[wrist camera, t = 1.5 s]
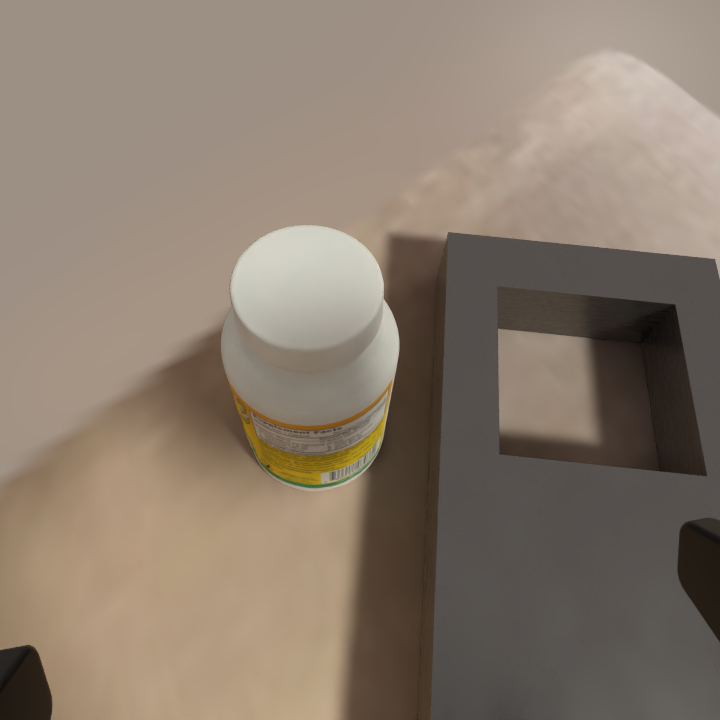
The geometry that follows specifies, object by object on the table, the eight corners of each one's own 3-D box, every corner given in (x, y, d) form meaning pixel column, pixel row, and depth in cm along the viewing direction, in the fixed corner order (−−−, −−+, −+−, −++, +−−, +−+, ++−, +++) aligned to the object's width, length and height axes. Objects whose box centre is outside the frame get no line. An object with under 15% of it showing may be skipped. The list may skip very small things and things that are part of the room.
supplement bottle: (365, 510, 22) (383, 401, 14) (228, 473, 23) (166, 347, 14) (397, 384, 25) (429, 228, 17) (273, 354, 25) (243, 187, 17)
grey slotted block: (783, 857, 18) (861, 885, 15) (413, 815, 18) (426, 835, 15) (678, 300, 28) (714, 259, 25) (437, 276, 28) (448, 232, 25)
